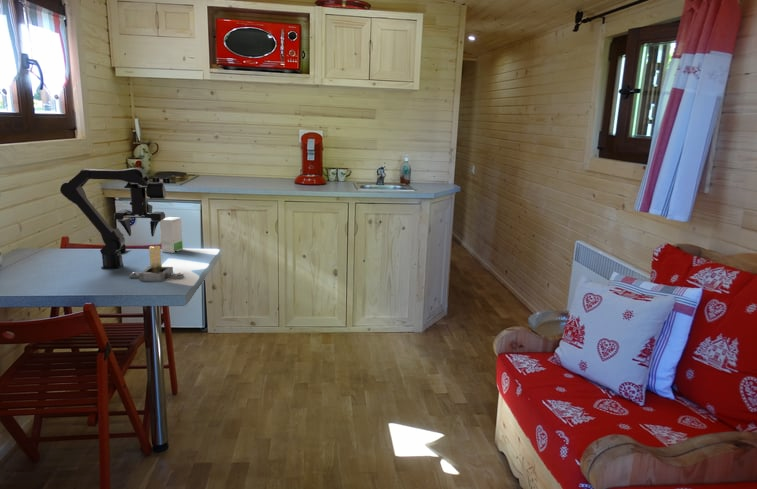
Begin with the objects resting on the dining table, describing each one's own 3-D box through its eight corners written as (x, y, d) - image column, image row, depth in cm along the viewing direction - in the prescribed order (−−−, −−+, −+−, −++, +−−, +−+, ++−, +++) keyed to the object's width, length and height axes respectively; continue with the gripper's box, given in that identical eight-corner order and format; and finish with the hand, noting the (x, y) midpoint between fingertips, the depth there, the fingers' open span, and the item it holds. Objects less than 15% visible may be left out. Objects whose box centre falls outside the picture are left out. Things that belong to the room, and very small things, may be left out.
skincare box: (173, 253, 237) (171, 220, 233) (160, 252, 238) (158, 219, 235) (183, 249, 245) (181, 217, 241) (171, 247, 246) (169, 216, 243)
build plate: (116, 258, 229) (115, 248, 228) (102, 256, 231) (101, 246, 230) (136, 251, 241) (135, 241, 240) (123, 249, 243) (122, 240, 241)
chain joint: (126, 280, 197) (125, 273, 197) (136, 273, 207) (135, 266, 206) (178, 281, 198) (178, 274, 198) (186, 274, 208) (185, 267, 207)
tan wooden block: (151, 279, 200) (148, 248, 197) (151, 276, 204) (149, 245, 201) (162, 278, 201) (160, 247, 198) (162, 275, 205) (160, 245, 202)
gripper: (168, 196, 218) (171, 232, 222) (123, 195, 217) (126, 231, 221) (158, 200, 207) (161, 238, 211) (111, 199, 206) (115, 237, 210)
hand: (141, 236), depth 213 cm, fingers open, 9 cm apart
